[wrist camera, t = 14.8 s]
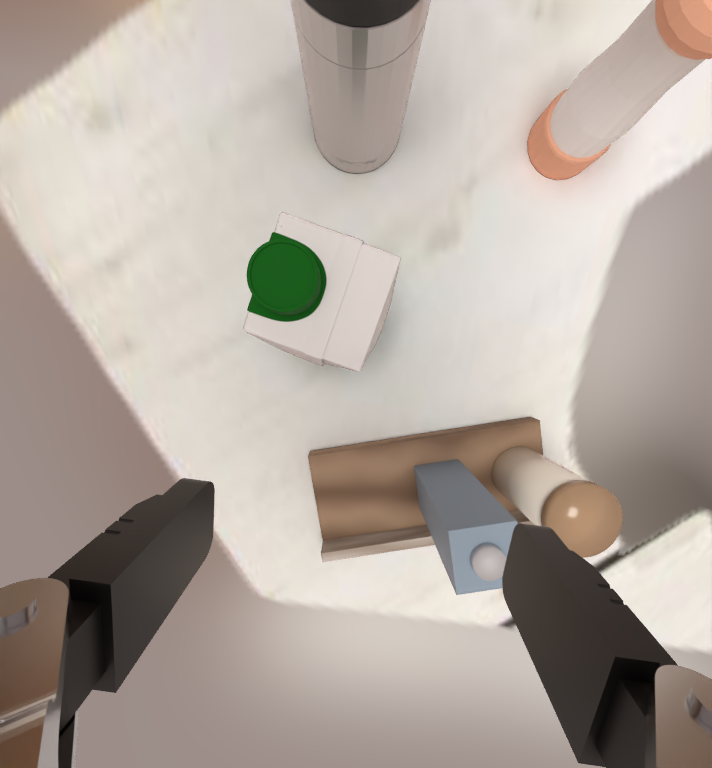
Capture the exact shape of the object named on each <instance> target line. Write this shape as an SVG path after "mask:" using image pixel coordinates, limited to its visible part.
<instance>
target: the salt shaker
mask: <svg viewBox="0 0 712 768" xmlns="http://www.w3.org/2000/svg"><path fill="white" fill-rule="evenodd" d="M711 58H712V0H652V1H651V2H650V4H649V5H648V6H647V7H646V8H645V9H644V10H643V12H642V13H641V14H640V15H639V16H638V17H637V18H636V20H635V21H634V22H633V23H632V24H631V25H630V26H629V28H628V29H627V30H626V31H625V32H624V33H623V34H622V35H621V37H620V38H619V39H618V40H617V41H615V42H614V43H613V44H612V45H611V46H610V47H609V48H608V49H606V50H605V51H604V52H603V53H602V54H601V55H600V56H598V57H597V58H596V59H595V60H594V61H593V62H592V63H591V64H589V65H588V66H587V67H586V68H585V69H584V70H583V71H581V73H580V74H579V75H578V76H577V78H576V79H575V80H574V82H573V83H572V84H571V85H570V87H569V88H568V89H567V90H565V91H563V92H562V93H561V94H559V95H558V96H557V97H556V98H555V99H554V100H553V101H552V102H551V104H550V105H549V106H548V107H547V109H546V110H545V111H544V112H543V113H542V115H541V116H540V117H539V118H538V120H537V121H536V123H535V124H534V126H533V127H532V129H531V131H530V135H529V138H528V154H529V157H530V160H531V163H532V164H533V166H534V167H535V168H536V170H537V171H538V172H539V173H541V174H542V175H544V176H545V177H547V178H551V179H555V180H562V179H568V178H571V177H573V176H575V175H577V174H579V173H580V172H581V171H582V170H584V169H585V168H586V167H588V166H589V165H590V164H592V163H593V162H594V161H595V160H597V159H598V158H599V157H600V156H602V155H603V154H604V153H605V152H606V151H607V150H608V148H609V147H610V145H611V144H612V143H613V142H614V141H615V140H617V139H618V138H620V137H621V136H622V135H624V134H625V133H626V132H627V131H629V130H630V129H631V128H632V127H633V126H634V125H635V124H636V123H637V122H638V121H639V120H640V119H641V118H642V117H643V116H644V115H645V114H646V113H647V112H648V111H649V110H650V108H651V107H652V106H653V105H654V104H655V103H656V102H657V101H658V100H659V99H660V98H661V97H662V96H663V95H664V94H665V93H666V92H667V91H668V90H669V89H670V88H671V87H672V86H674V85H675V84H676V83H677V82H678V81H680V80H681V79H682V78H683V77H685V76H686V75H687V74H688V73H689V72H691V71H692V70H693V69H694V68H695V67H697V66H698V65H699V64H700V63H702V62H703V61H704V60H705V59H711Z"/></svg>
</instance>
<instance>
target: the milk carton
mask: <svg viewBox="0 0 712 768" xmlns="http://www.w3.org/2000/svg"><path fill="white" fill-rule="evenodd" d="M400 260H401V257H399V256H396V255H394V254H391V253H388V252H386V251H383V250H380V249H378V248H375V247H372V246H370V245H367V244H364V242H363V241H362V240H360V239H357V238H354V237H352V236H349V235H344V234H341V233H339V232H336V231H333V230H331V229H328V228H325V227H322V226H320V225H317V224H314V223H311V222H308V221H306V220H303V219H300V218H297V217H295V216H292V215H289V214H286V213H283V212H282V213H281V214H280V216H279V219H278V222H277V226H276V229H275V232H273V233H272V235H271V238H270V241H269V242H266V243H265V244H263V245H261V246H260V247H259V248H258V249H257V250H256V251H255V252H254V254H253V255H252V257H251V259H250V261H249V264H248V268H247V282H248V285H249V288H250V291H251V293H252V297H251V300H250V303H249V306H248V309H247V310H248V311H249V313H248V316H247V318H246V321H245V324H244V327H243V330H244V331H245V332H247V333H249V334H251V335H253V336H255V337H257V338H259V339H261V340H263V341H265V342H267V343H269V344H271V345H273V346H275V347H277V348H279V349H281V350H284V351H286V352H288V353H291V354H293V355H296V356H298V357H301V358H303V359H306V360H308V361H311V362H313V363H316V364H319V365H322V366H323V364H322V363H324V364H328V365H333V366H338V367H343V368H347V369H350V370H354V371H358V372H360V371H361V369H362V367H363V365H364V363H365V362H366V360H367V358H368V356H369V355H370V353H371V351H372V349H373V348H374V346H375V344H376V342H377V340H378V338H379V335H380V333H381V330H382V328H383V325H384V322H385V319H386V316H387V313H388V310H389V307H390V304H391V300H392V295H393V291H394V286H395V282H396V277H397V273H398V268H399V264H400Z"/></svg>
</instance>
